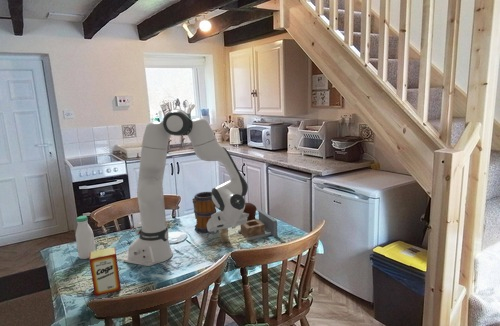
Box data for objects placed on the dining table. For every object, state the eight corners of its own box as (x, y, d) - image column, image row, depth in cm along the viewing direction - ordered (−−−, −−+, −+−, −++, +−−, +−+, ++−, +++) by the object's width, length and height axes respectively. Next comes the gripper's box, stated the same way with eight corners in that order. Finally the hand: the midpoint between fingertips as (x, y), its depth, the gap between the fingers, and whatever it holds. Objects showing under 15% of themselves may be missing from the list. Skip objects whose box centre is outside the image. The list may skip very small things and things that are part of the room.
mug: (185, 226, 196) (182, 193, 192) (205, 219, 206) (203, 187, 201) (204, 236, 182) (201, 200, 178) (225, 228, 192) (223, 194, 187)
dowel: (219, 242, 174) (218, 224, 171) (221, 239, 177) (220, 221, 175) (227, 242, 173) (226, 224, 171) (229, 239, 177) (228, 221, 175)
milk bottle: (99, 254, 167) (94, 215, 162) (85, 261, 160) (79, 221, 156) (89, 250, 170) (84, 213, 166) (75, 257, 164) (69, 218, 160)
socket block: (247, 239, 175) (247, 228, 174) (240, 233, 183) (240, 222, 182) (265, 235, 179) (264, 224, 178) (257, 229, 187) (257, 219, 186)
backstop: (249, 243, 171) (248, 226, 169) (236, 230, 187) (235, 215, 185) (277, 236, 177) (277, 220, 175) (262, 225, 193) (261, 210, 192)
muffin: (249, 214, 210) (248, 199, 208) (261, 219, 202) (260, 203, 200) (233, 219, 203) (233, 204, 201) (245, 225, 195) (244, 208, 193)
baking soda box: (119, 281, 141) (115, 246, 138) (121, 289, 135) (115, 252, 132) (95, 287, 137) (89, 251, 134) (95, 296, 131) (89, 258, 128)
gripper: (247, 207, 168) (241, 219, 179) (208, 215, 160) (203, 227, 171) (252, 218, 165) (245, 230, 176) (211, 227, 157) (207, 238, 168)
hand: (224, 229), depth 173 cm, fingers open, 8 cm apart
